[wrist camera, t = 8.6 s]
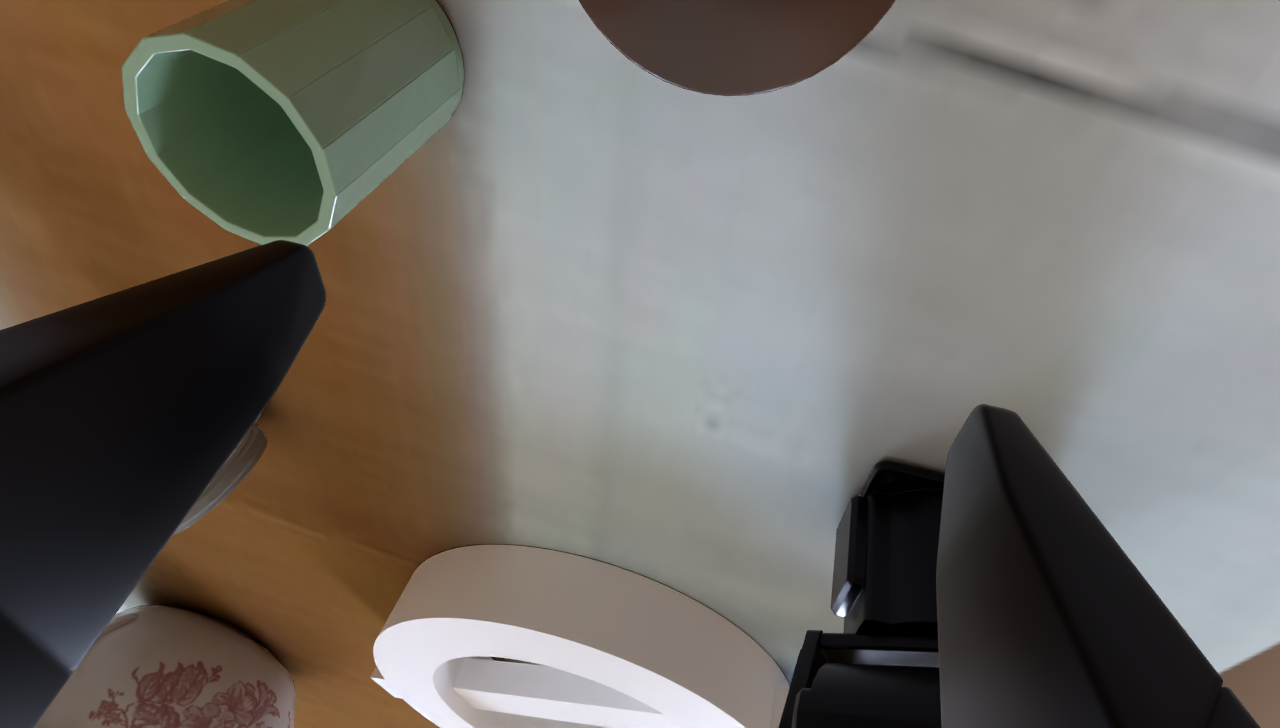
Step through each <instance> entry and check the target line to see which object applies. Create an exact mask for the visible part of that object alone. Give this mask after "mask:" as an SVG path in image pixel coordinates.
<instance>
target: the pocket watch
mask: <svg viewBox="0 0 1280 728" xmlns="http://www.w3.org/2000/svg"><path fill="white" fill-rule="evenodd" d="M261 414H262V412H261ZM261 414H260V415H259V417H258V418H257V419H256V421H255V422H254V423H253V425H252V426H251V428H250V429H249V430H248V432H247V433H246V434H245V436H244V437H243V439H242V440H241V441H240V443H239V444H238V445H237V447H236V448H235V450H234V451H233V452H232V454H231V455H230V457H229V458H228V459H227V461H226V462H225V463H224V465H223V466H222V468H221V469H220V470H219V472H218V473H217V474H216V476H215V477H214V479H213V480H212V481H211V483H210V484H209V485H208V487H207V488H206V490H205V491H204V492H203V494H202V495H201V497H200V498H199V499H198V501H197V502H196V503H195V505H194V506H193V508H192V509H191V510H190V512H189V513H188V514H187V516H186V517H185V519H184V520H183V521H182V523H181V524H180V525H179V527H178V528H177V530H176V531H175V532H174V534H173V535H175V534H177V533H180V532H181V531H183V530H185V529H187V528H189V527H190V526H191V525H193V524H194V523H196V522H197V521H198V520H200V519H201V518H202V517H204V516H205V515H206V514H207V513H209V512H210V511H211V510H213V509H214V508H215V507H216V506H217V505H219V504H220V503H221V502H222V501H223V500H224V499H225V498H226V497H227V496H228V495H229V494H230V493H231V492H232V491H233V490H234V489H235V488H236V487H237V486H238V485H239V484H240V483H241V482H242V481H243V480H244V478H245V477H246V476H247V475H248V474H249V473H250V471H251V470H252V469H253V467H254V466H255V465H256V463H257V462H258V460H259V459H260V457H261V456H262V454H263V452H264V450H265V448H266V445H267V438H266V437H265V436H264V433H263V432H262V431H261V430H260V429H259V428H258V424H257V423H256V422H257V421H258V419H259V418H260V417H261ZM173 535H172V536H173Z"/></svg>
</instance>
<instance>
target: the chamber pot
mask: <svg viewBox="0 0 1280 728" xmlns="http://www.w3.org/2000/svg"><path fill="white" fill-rule="evenodd" d="M72 671H73V674H72V675H71V677H70V678H69V679H68V681H67V682H66V683H65V685H64V686H63V688H62V689H61V690H60V692H59V693H58V695H57V696H56V697H55V699H54V700H53V701H52V703H51V704H50V706H49V707H48V708H47V710H46V711H45V712H44V714H43V715H42V717H41V718H40V719H39V721H38V722H37V724H36V725H35V726H34V728H294V714H295V695H296V692H295V686H294V681H293V680H292V678H291V676H290V675H289V673H288V672H287V670H286V669H285V668H284V667H283V665H282V664H281V663H280V662H279V660H278V659H277V658H276V657H275V656H274V655H273V654H272V653H271V652H270V651H269V650H268V649H267V648H266V647H264V646H263V645H261V644H260V643H258V642H257V641H256V640H254V639H253V638H251V637H250V636H248V635H246V634H244V633H243V632H241V631H239V630H237V629H235V628H234V627H232V626H230V625H227V624H225V623H223V622H221V621H219V620H216V619H214V618H212V617H209V616H206V615H203V614H201V613H198V612H195V611H191V610H186V609H182V608H176V607H166V606H157V605H142V606H138V607H134V608H130V609H127V610H124V611H122V612H120V613H118V614H116V615H114V617H113V618H112V619H111V621H110V622H109V623H108V625H107V626H106V628H105V629H104V630H103V632H102V633H101V634H100V636H99V637H98V639H97V640H96V641H95V643H94V644H93V645H92V647H91V648H90V650H89V651H88V652H87V654H86V655H85V657H84V658H83V659H82V661H81V662H80V663H79V665H78V666H77V668H76V669H74V670H72Z"/></svg>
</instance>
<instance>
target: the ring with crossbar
mask: <svg viewBox="0 0 1280 728" xmlns="http://www.w3.org/2000/svg"><path fill="white" fill-rule="evenodd" d="M373 654H374V659H375V663H376V665H377V666H376V668H375V670H374V671H373V673H372V675H371V677H370V678H372V679H373V680H374V681H375V682H376V683H378V684H379V685H380V686H381V687H383V688H384V689H385V690H386V691H388V692H389V693H390V694H391V695H392V696H394V697H396V698H402V699H403V700H405V701H406V702H407V703H408V704H409V705H410V706H412V707H413V708H414V709H415V710H416V711H418V712H419V713H420V714H422V715H423V716H424V717H426V718H427V719H429V720H430V721H431V722H433V723H434V724H436V725H437V726H439V727H440V728H778V727H779V724H780V720H781V717H782V713H783V710H784V706H785V703H786V699H787V696H788V692H789V688H790V686H789V684H788V681H787V680H786V678H785V676H784V674H783V673H782V671H781V670H780V668H779V667H778V665H777V664H776V663H775V662H774V660H773V659H772V658H771V657H770V656H769V655H768V654H767V653H766V651H765V650H764V649H763V648H761V647H760V646H759V645H758V644H757V643H756V642H755V641H754V640H753V639H752V638H750V637H749V636H748V635H747V634H746V633H744V632H743V631H742V630H740V629H739V628H738V627H736V626H735V625H734V624H732V623H731V622H729V621H728V620H726V619H725V618H724V617H722V616H720V615H719V614H717V613H716V612H714V611H712V610H711V609H709V608H707V607H706V606H704V605H702V604H700V603H699V602H697V601H695V600H693V599H691V598H689V597H687V596H685V595H684V594H682V593H680V592H677V591H675V590H673V589H671V588H669V587H667V586H665V585H662V584H660V583H658V582H656V581H653V580H651V579H648V578H646V577H643V576H641V575H638V574H636V573H633V572H630V571H627V570H624V569H622V568H619V567H616V566H613V565H609V564H606V563H603V562H600V561H596V560H592V559H589V558H585V557H581V556H577V555H573V554H568V553H564V552H559V551H554V550H548V549H541V548H534V547H526V546H515V545H475V546H467V547H460V548H455V549H451V550H447V551H444V552H441V553H439V554H436V555H434V556H432V557H430V558H429V559H427V560H426V561H424V562H423V563H422V564H421V565H420V566H419V567H418V568H417V569H416V570H415V572H414V573H413V575H412V577H411V578H410V580H409V582H408V584H407V586H406V587H405V589H404V591H403V593H402V594H401V596H400V598H399V600H398V602H397V603H396V605H395V607H394V609H393V610H392V612H391V614H390V616H389V618H388V619H387V621H386V623H385V625H384V626H383V628H382V630H381V632H380V634H379V635H378V637H377V639H376V641H375V643H374V648H373ZM491 657H501V658H509V659H516V660H521V661H527V662H532V663H536V664H540V665H533V664H523V663H513V662H503V661H495V660H493V659H492V658H491ZM543 665H545V666H543Z"/></svg>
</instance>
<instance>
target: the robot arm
mask: <svg viewBox="0 0 1280 728" xmlns="http://www.w3.org/2000/svg"><path fill="white" fill-rule="evenodd" d="M325 303H326V290H325V287H324V284H323V280H322V277H321V274H320V271H319V268H318V265H317V262H316V258H315V255H314V253H313V251H312V250H311V249H310V248H309V247H307V246H306V245H303V244H299V243H295V242H291V241H286V240H276V241H273V242H270V243H267V244H264V245H261V246H257V247H254V248H251V249H248V250H245V251H242V252H239V253H236V254H233V255H230V256H227V257H224V258H221V259H218V260H215V261H211V262H208V263H205V264H202V265H199V266H196V267H193V268H190V269H187V270H184V271H181V272H178V273H175V274H172V275H168V276H165V277H162V278H159V279H156V280H153V281H150V282H147V283H144V284H141V285H138V286H135V287H132V288H129V289H125V290H122V291H119V292H116V293H113V294H110V295H107V296H104V297H101V298H98V299H95V300H92V301H89V302H86V303H83V304H79V305H76V306H73V307H70V308H67V309H64V310H61V311H58V312H55V313H52V314H49V315H46V316H43V317H40V318H36V319H33V320H30V321H27V322H24V323H21V324H18V325H15V326H12V327H9V328H6V329H3V330H0V728H34V726H35V725H36V724H37V722H38V721H39V719H40V718H41V717H42V715H43V714H44V712H45V711H46V710H47V708H48V707H49V706H50V704H51V703H52V701H53V700H54V699H55V697H56V696H57V695H58V693H59V692H60V690H61V689H62V688H63V686H64V685H65V683H66V682H67V681H68V679H69V678H70V677H71V675H72V674H73V671H72V670H74V669H76V668H77V666H78V665H79V663H80V662H81V661H82V659H83V658H84V657H85V655H86V654H87V652H88V651H89V650H90V648H91V647H92V645H93V644H94V643H95V641H96V640H97V639H98V637H99V636H100V634H101V633H102V632H103V630H104V629H105V628H106V626H107V625H108V623H109V622H110V621H111V619H112V618H113V617H114V615H115V614H116V612H117V611H118V610H119V608H120V607H121V605H122V604H123V603H124V601H125V600H126V599H127V597H128V596H129V594H130V593H131V592H132V590H133V589H134V588H135V586H136V585H137V583H138V582H139V581H140V579H141V578H142V577H143V575H144V574H145V572H146V571H147V570H148V568H149V567H150V565H151V564H152V563H153V561H154V560H155V559H156V557H157V556H158V554H159V553H160V552H161V550H162V549H163V548H164V546H165V545H166V543H167V542H168V541H169V539H170V538H171V537H172V535H173V534H174V532H175V531H176V530H177V528H178V527H179V525H180V524H181V523H182V521H183V520H184V519H185V517H186V516H187V514H188V513H189V512H190V510H191V509H192V508H193V506H194V505H195V503H196V502H197V501H198V499H199V498H200V497H201V495H202V494H203V492H204V491H205V490H206V488H207V487H208V485H209V484H210V483H211V481H212V480H213V479H214V477H215V476H216V474H217V473H218V472H219V470H220V469H221V468H222V466H223V465H224V463H225V462H226V461H227V459H228V458H229V457H230V455H231V454H232V452H233V451H234V450H235V448H236V447H237V445H238V444H239V443H240V441H241V440H242V439H243V437H244V436H245V434H246V433H247V432H248V430H249V429H250V428H251V426H252V425H253V423H254V422H255V421H256V419H257V418H258V417H259V415H260V414H261V412H262V411H263V410H264V408H265V407H266V405H267V404H268V403H269V401H270V400H271V398H272V397H273V395H274V394H275V392H276V391H277V389H278V387H279V386H280V384H281V382H282V381H283V379H284V377H285V376H286V374H287V372H288V370H289V369H290V367H291V365H292V363H293V362H294V360H295V358H296V356H297V355H298V353H299V351H300V349H301V348H302V346H303V344H304V342H305V341H306V339H307V337H308V335H309V334H310V332H311V330H312V328H313V327H314V325H315V323H316V321H317V320H318V318H319V316H320V314H321V313H322V311H323V309H324V306H325ZM831 609H832V611H833V612H834V614H835V615H837V616H841V617H844V632H843V633H823V631H822V630H808V631H807V633H806V637H805V640H804V644H803V647H802V649H801V650H800V653H799V656H798V660H797V664H796V667H795V671H794V674H793V678H792V681H791V685H790V688H789V692H788V696H787V699H786V703H785V706H784V710H783V713H782V717H781V720H780V724H779V727H778V728H1260V727H1259V725H1258V724H1257V723H1256V721H1255V720H1254V719H1253V718H1252V716H1251V715H1250V714H1249V712H1248V711H1247V710H1246V709H1245V707H1244V706H1243V705H1242V703H1241V702H1240V701H1239V699H1238V698H1237V697H1236V696H1235V694H1234V693H1233V692H1232V690H1231V689H1230V688H1228V687H1225V686H1222V684H1223V680H1222V678H1221V677H1220V675H1219V674H1218V673H1217V671H1216V670H1215V669H1214V668H1213V666H1212V665H1211V664H1210V662H1209V661H1208V660H1207V659H1206V657H1205V656H1204V655H1203V653H1202V652H1201V651H1200V649H1199V648H1198V647H1197V646H1196V644H1195V643H1194V642H1193V640H1192V639H1191V638H1190V637H1189V635H1188V634H1187V633H1186V631H1185V630H1184V629H1183V627H1182V626H1181V625H1180V624H1179V622H1178V621H1177V620H1176V618H1175V617H1174V616H1173V615H1172V613H1171V612H1170V611H1169V609H1168V608H1167V607H1166V606H1165V604H1164V603H1163V602H1162V600H1161V599H1160V598H1159V596H1158V595H1157V594H1156V593H1155V591H1154V590H1153V589H1152V587H1151V586H1150V585H1149V584H1148V582H1147V581H1146V580H1145V578H1144V577H1143V576H1142V574H1141V573H1140V572H1139V571H1138V569H1137V568H1136V567H1135V565H1134V564H1133V563H1132V562H1131V560H1130V559H1129V558H1128V556H1127V555H1126V554H1125V552H1124V551H1123V550H1122V549H1121V547H1120V546H1119V545H1118V543H1117V542H1116V541H1115V540H1114V538H1113V537H1112V536H1111V534H1110V533H1109V532H1108V531H1107V529H1106V528H1105V527H1104V525H1103V524H1102V523H1101V521H1100V520H1099V519H1098V518H1097V516H1096V515H1095V514H1094V512H1093V511H1092V510H1091V509H1090V507H1089V506H1088V505H1087V503H1086V502H1085V501H1084V499H1083V498H1082V497H1081V496H1080V494H1079V493H1078V492H1077V490H1076V489H1075V488H1074V487H1073V485H1072V484H1071V483H1070V481H1069V480H1068V479H1067V477H1066V476H1065V475H1064V474H1063V472H1062V471H1061V470H1060V468H1059V467H1058V466H1057V465H1056V463H1055V462H1054V461H1053V459H1052V458H1051V457H1050V456H1049V454H1048V453H1047V452H1046V450H1045V449H1044V448H1043V446H1042V445H1041V444H1040V443H1039V441H1038V440H1037V439H1036V437H1035V436H1034V435H1033V434H1032V432H1031V431H1030V430H1029V428H1028V427H1027V426H1026V424H1025V423H1024V422H1023V421H1022V419H1021V418H1020V417H1019V416H1018V415H1017V414H1016V413H1015V412H1013V411H1011V410H1007V409H1003V408H999V407H995V406H990V405H986V404H981V405H978V406H977V407H975V408H974V409H973V411H972V412H971V414H970V415H969V417H968V419H967V420H966V422H965V424H964V425H963V427H962V429H961V430H960V432H959V434H958V435H957V437H956V439H955V440H954V442H953V444H952V446H951V448H950V450H949V453H948V456H947V461H946V469H945V474H942V473H938V472H933V471H929V470H925V469H921V468H917V467H913V466H909V465H904V464H900V463H896V462H892V461H881V462H879V463H877V464H876V465H875V467H874V469H873V471H872V473H871V475H870V477H869V479H868V481H867V483H866V485H865V487H864V490H863V492H862V494H861V496H860V495H856V496H854V497H853V498H851V500H850V502H849V504H848V506H847V509H846V511H845V513H844V515H843V517H842V519H841V521H840V523H839V526H838V528H837V534H836V547H835V559H834V572H833V585H832V598H831Z"/></svg>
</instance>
